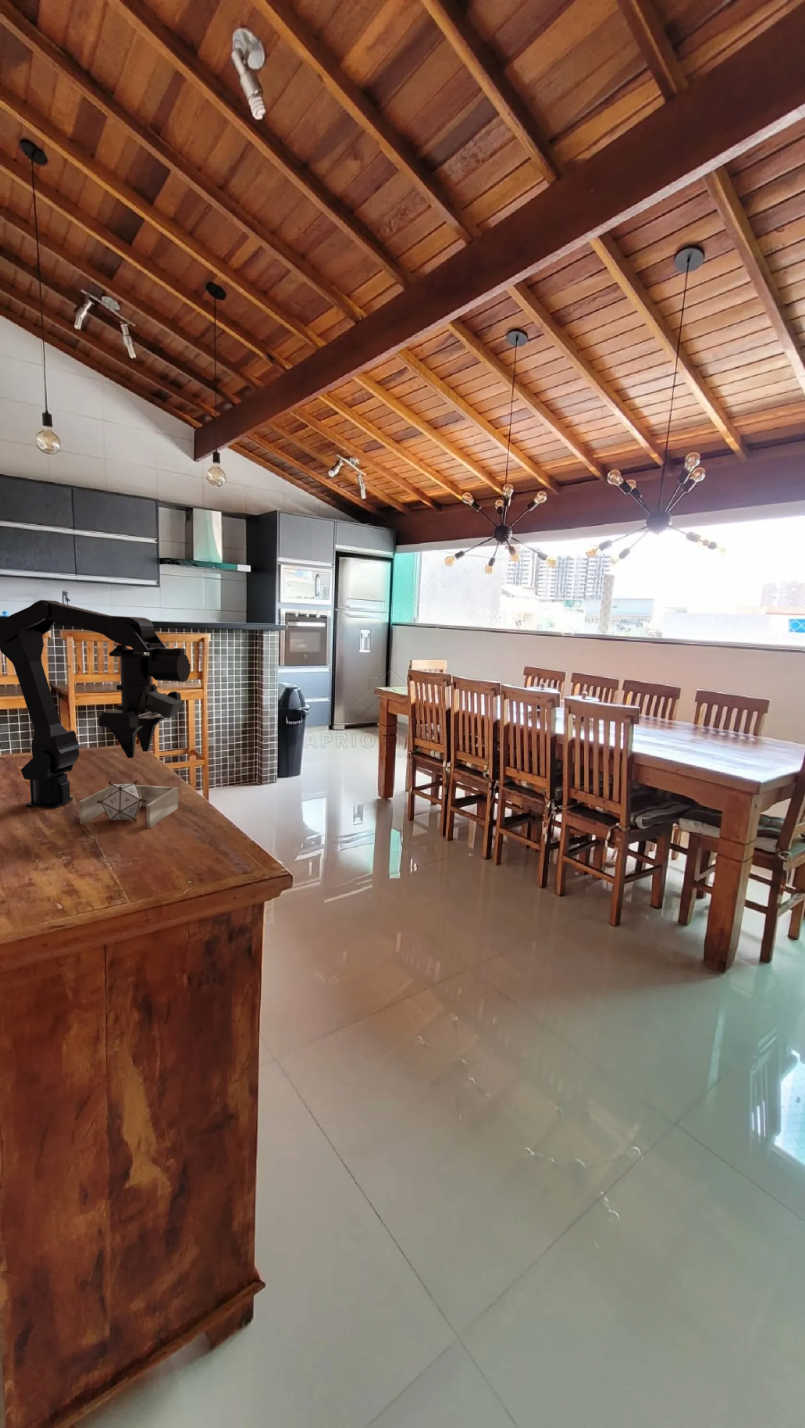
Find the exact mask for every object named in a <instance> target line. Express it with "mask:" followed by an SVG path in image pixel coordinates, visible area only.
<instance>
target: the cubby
mask: <svg viewBox="0 0 805 1428" xmlns="http://www.w3.org/2000/svg"><path fill="white" fill-rule="evenodd" d="M136 786H137V788H138V790H139V793H140V795H141V797H142V798H143V799H145V800H146V801H147V802H146V803H145V802H143V803H142V805H141V807H144V808H146V809H145V810H146V812H145V813H146V828H148V829H151V828H152V827H154V826H155V825H156V824H158V823H159V822H161V821H162V820H163V819H165V818H166V817H168V816H169V815H170V814H172V813H173V812H174V811H176V810H177V809H179V787H178V786H177V787H175V786H174V787H173V786H157V785H140V784H139V785H138V784H136ZM108 788H109V786H107V787H105V788H103V789H101V790H99V791H96V792H95V793H93V794H90V795H89V796H86V797H85V798H83V799H81V800H79V801H78V811H79V824H80V825H84V824H86V823H87V822H89V821H91V820H93V819H95V818H96V817H98V816H100V815H101V814H103V813H106V812H105V810H104V808H103V806H102V804H101V803H97V801H98V800H99V801H101V800H102V799H103V797H104V795H105V793H106V792H107V790H108ZM141 807H140V808H141Z"/></svg>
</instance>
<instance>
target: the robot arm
mask: <svg viewBox="0 0 805 1428" xmlns="http://www.w3.org/2000/svg"><path fill="white" fill-rule="evenodd" d="M56 623H58V624H61V625H66V626H70V627H73V628H78V629H81V630H86V631H90V632H94V633H96V634H97V633H98V634H100V635H102V636H104V637H106V638H107V639H109V640H110V641H113V642H115V643H117V645H116V647H115V648H114V649H112V650H111V651H110V652H109V653H108V656H110V657H118V658H119V663H120V665H119V666H120V684H116V686H115V688H116V691H120V695H121V696H120V697H121V698H120V699H121V702H120V703H121V704H118V705H116V709H110V710H105V711H103V712H101V714H99V715H98V716H97V718H98V719H97V723H98V725H97V726H98V727H99V728H107V729H108V730H110V731H111V733H112V734H113V736H114V737H115V738H116V740H117V742H118V744H119V745H120V747H121V749H122V751H123V752H124V754H125V755H126V757H127V758H128V759H133V758H134V757H135V753H136V739H138V741H139V745H140V747H141V751H142V752H146V753H147V752H149V750H150V747H151V744H152V740H153V737H154V733H155V730H156V727H157V726H158V725H159V724H160V723H161V722H162V721H164V720H165V719H172V717H177V715H178V712H179V710H180V709H181V708H182V707H183V700H182V696H181V692H179V691H175V690H172V691H170V692H169V693H168V694H166V693H165V692H164V693H161V692H159V691H158V686H157V685H156V683H152V678H153V679H154V680H155V681H156V682H157V681H158V682H174V683H175V682H176V683H186V682H187V681H188V680H189V677H190V674H191V663H190V660H189V657H188V655H187V654H186V649H185V648H184V647H183V648H182V647H176V648H174V647H173V648H168V647H166V645H165V643H163V641H162V639H161V638H160V637H159V635H158V634H157V632H156V629H155V626H154V624H153V623H152V621H151V620H150V619H149V618H146V617H142V616H141V617H139V616H125V615H124V616H123V615H122V616H120V615H109V614H105V613H102V612H99V611H94V610H89V609H86V608H81V607H78V606H73V605H69V604H65V603H62V602H59V601H58V600H47V599H40V600H38V601H36V602H34V603H33V604H31V605H30V606H28V607H26V608H23V609H21V610H18V611H17V612H15V613H12V614H10V615H9V616H7V617H5V618H3V617H2V618H0V653H2V655H4V656H5V657H6V658H7V659H8V661H10V663H12V665H13V669H14V671H15V675H16V678H17V680H18V684H19V687H20V690H21V693H22V696H23V699H24V703H25V705H26V709H27V712H28V715H29V718H30V721H31V724H32V727H33V736H32V739H31V744H30V748H31V755H32V756H31V759H30V760H29V761H28V762H27V763H26V764H25V765H24V766H23V767H22V768H21V769H20V772H21V774H22V777H23V779H24V780H27V781H29V788H30V789H29V790H30V791H29V792H30V801H29V802H26V803H25V807H28V808H29V807H34V808H45V809H46V808H48V809H49V808H50V809H55V808H58V807H61V806H62V805H65V804H66V803H69V802H70V801H73V800H74V797H73V796H71V785H70V784H71V783H70V781H69V780H68V772H71V771H72V770H73V768H74V764H75V763H76V762H77V760H78V759H79V757H80V751H79V750H80V749H81V748H82V747H81V745H80V744H79V741H78V740H77V739H78V738H77V733H76V732H75V730H70V731H68V730H67V729H66V728H65V727H64V726H63V725H62V723H61V721H60V717H59V715H58V710H57V707H56V704H55V701H54V698H53V695H52V692H51V688H50V685H49V682H48V679H47V675H46V672H45V670H44V666H43V663H42V654H43V651H44V646H45V644H44V637H43V636H45V634H47V633H48V632H50V631H51V630H52V629H53V627H54V625H55V624H56ZM128 647H130V648H128ZM146 653H148V654H146ZM159 715H160V716H159Z"/></svg>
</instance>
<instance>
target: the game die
mask: <svg viewBox="0 0 805 1428" xmlns="http://www.w3.org/2000/svg"><path fill="white" fill-rule="evenodd" d="M107 782H108V783H107V784H108V787H109V788H108V790H107V792H106V793H105V795H104V797H103V799H102V800H101V801H99V800H98V801H97V803H101V804H102V806H103V808H104V810H105V812H104V813H105V814H106V815H107V819H108V820H107V822H106V824H107V825H109V824H110V823H111V821H123V820H133V822H134V823H137V822H138V820H137V818H136V817H137V815H138V813H139V811H140V809H141V805H142V803H143V802H145V803H146V802H147V801H146V800H145V799H143V798H142V797H141V795H140V793H139V790H138V788H137V786H136V785H137V783H138V779H136V780H134V781H133V783H132V782H131V783H130V782H129V783H126V782H125V783H112V782H111V781H110V780H108V781H107Z"/></svg>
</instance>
